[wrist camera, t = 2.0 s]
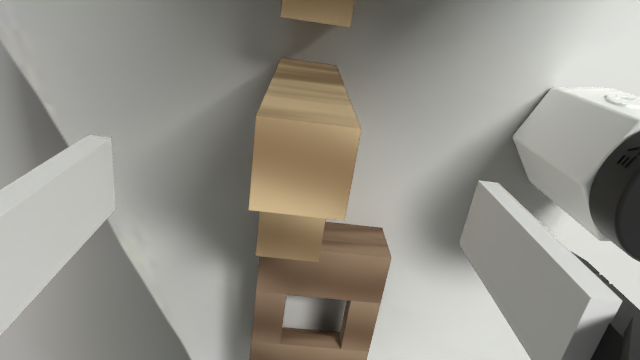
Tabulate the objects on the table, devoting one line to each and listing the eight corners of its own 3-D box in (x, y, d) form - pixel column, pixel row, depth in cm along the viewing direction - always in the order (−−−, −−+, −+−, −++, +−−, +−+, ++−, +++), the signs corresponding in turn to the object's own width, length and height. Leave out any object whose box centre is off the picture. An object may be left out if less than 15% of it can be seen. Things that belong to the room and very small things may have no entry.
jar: (639, 84, 32) (813, 131, 21) (607, 183, 35) (743, 268, 24) (522, 83, 31) (637, 130, 21) (501, 182, 35) (590, 268, 24)
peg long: (281, 57, 30) (256, 115, 16) (336, 65, 31) (361, 129, 16) (276, 111, 32) (248, 210, 17) (328, 118, 32) (344, 220, 18)
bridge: (265, 215, 35) (260, 244, 31) (381, 228, 36) (391, 257, 32) (253, 341, 41) (247, 379, 37) (354, 349, 42) (359, 388, 38)
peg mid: (272, 148, 33) (260, 199, 25) (322, 154, 33) (327, 206, 25) (268, 194, 35) (255, 255, 26) (316, 199, 35) (318, 262, 27)
